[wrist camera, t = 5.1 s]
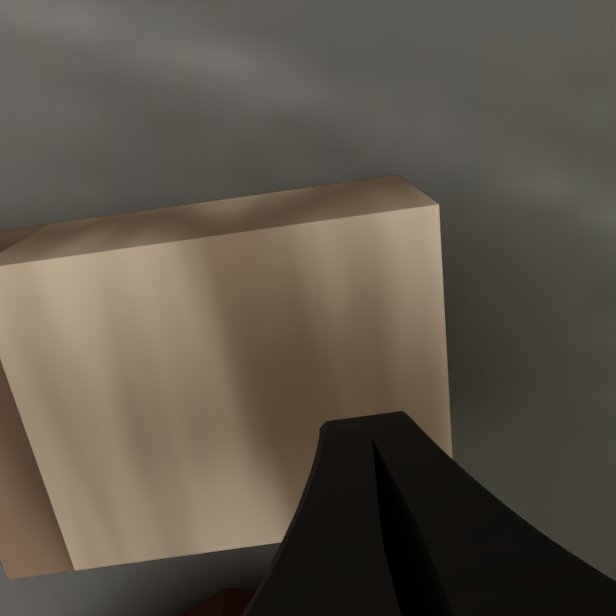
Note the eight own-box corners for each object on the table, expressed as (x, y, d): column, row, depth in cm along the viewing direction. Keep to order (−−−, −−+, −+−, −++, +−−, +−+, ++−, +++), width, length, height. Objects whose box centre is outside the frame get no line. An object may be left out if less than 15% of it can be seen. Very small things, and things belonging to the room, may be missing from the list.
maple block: (439, 204, 10) (-114, 281, 10) (455, 518, 13) (8, 579, 13) (397, 174, 14) (-10, 231, 14) (416, 422, 17) (69, 469, 17)
